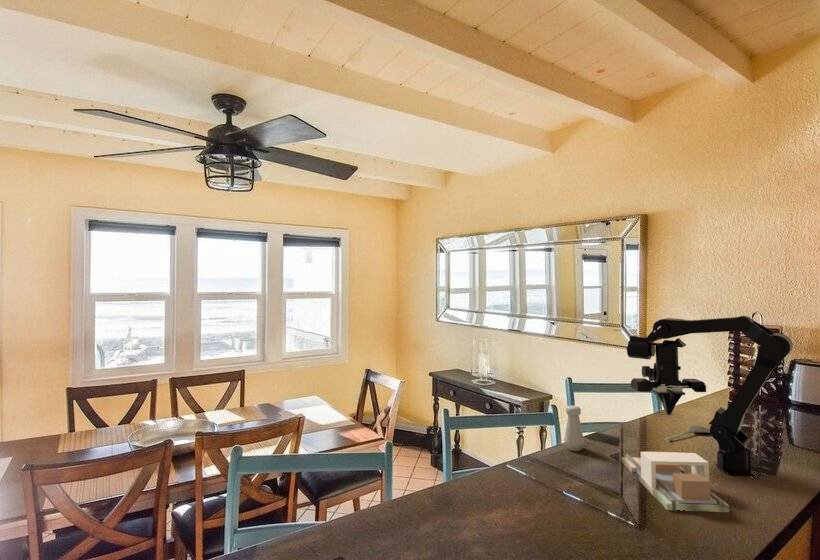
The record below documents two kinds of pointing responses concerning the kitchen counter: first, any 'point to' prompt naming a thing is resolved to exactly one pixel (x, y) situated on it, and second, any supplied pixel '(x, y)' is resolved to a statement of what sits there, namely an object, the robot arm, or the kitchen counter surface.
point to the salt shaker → (573, 429)
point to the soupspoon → (693, 429)
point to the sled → (684, 485)
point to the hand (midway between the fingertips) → (668, 414)
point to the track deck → (665, 497)
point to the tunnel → (671, 458)
